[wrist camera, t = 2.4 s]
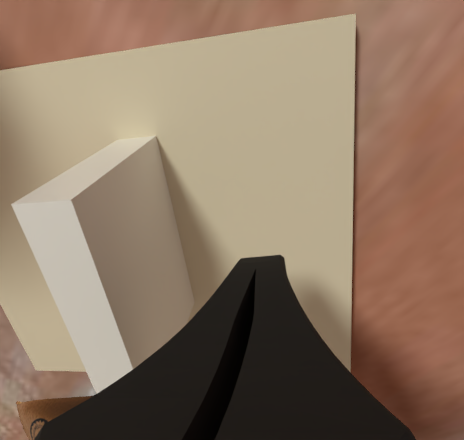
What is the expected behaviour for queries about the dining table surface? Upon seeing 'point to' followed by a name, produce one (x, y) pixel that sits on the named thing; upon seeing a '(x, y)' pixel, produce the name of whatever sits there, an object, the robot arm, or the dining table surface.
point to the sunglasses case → (44, 412)
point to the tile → (111, 256)
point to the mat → (199, 162)
